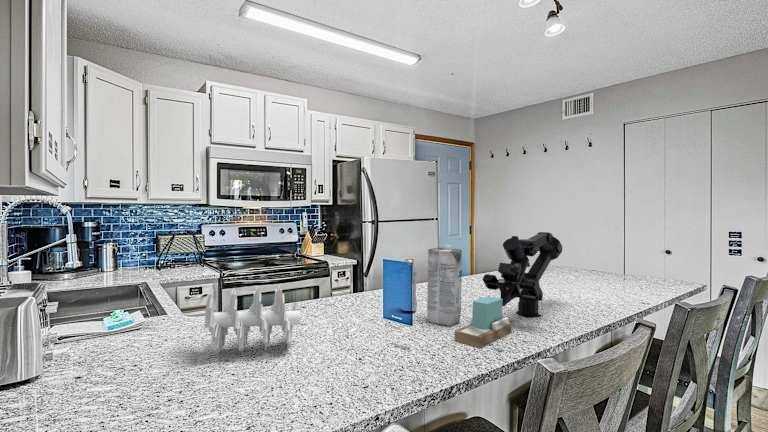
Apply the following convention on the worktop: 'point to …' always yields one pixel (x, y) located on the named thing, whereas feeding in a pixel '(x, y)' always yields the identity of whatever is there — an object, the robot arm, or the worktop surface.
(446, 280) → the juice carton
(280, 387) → the worktop surface
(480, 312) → the teal block
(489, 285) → the robot arm
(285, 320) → the white sculpted piece
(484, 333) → the brown tray
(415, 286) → the plastic bottle
